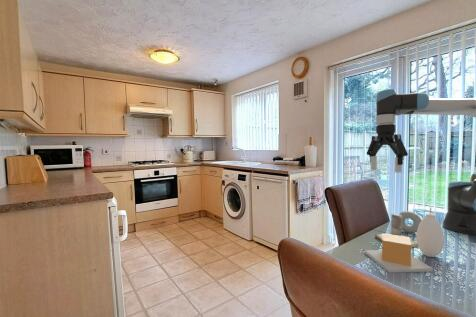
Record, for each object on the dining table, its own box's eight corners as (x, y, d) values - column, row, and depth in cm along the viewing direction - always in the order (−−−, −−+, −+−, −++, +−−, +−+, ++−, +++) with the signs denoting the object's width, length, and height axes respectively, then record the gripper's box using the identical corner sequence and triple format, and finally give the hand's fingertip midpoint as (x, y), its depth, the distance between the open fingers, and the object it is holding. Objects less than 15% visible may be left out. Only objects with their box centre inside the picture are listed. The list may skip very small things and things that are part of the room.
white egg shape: (447, 262, 81) (448, 210, 80) (418, 258, 84) (419, 208, 84) (439, 253, 88) (441, 205, 87) (413, 249, 91) (414, 203, 91)
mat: (401, 252, 89) (401, 249, 89) (432, 271, 75) (432, 268, 75) (364, 253, 89) (364, 250, 89) (389, 272, 75) (389, 269, 75)
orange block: (410, 266, 77) (411, 245, 76) (381, 260, 81) (382, 240, 81) (409, 256, 83) (409, 237, 83) (382, 251, 88) (382, 233, 87)
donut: (422, 234, 108) (423, 212, 107) (421, 236, 105) (422, 214, 105) (396, 229, 114) (396, 208, 114) (395, 231, 112) (395, 210, 111)
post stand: (399, 236, 105) (400, 211, 105) (419, 246, 94) (419, 218, 94) (375, 236, 105) (375, 211, 104) (392, 247, 94) (392, 219, 93)
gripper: (418, 121, 97) (417, 173, 98) (371, 127, 121) (371, 168, 122) (403, 121, 95) (402, 173, 96) (359, 127, 120) (358, 169, 120)
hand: (385, 171), depth 109 cm, fingers open, 13 cm apart
